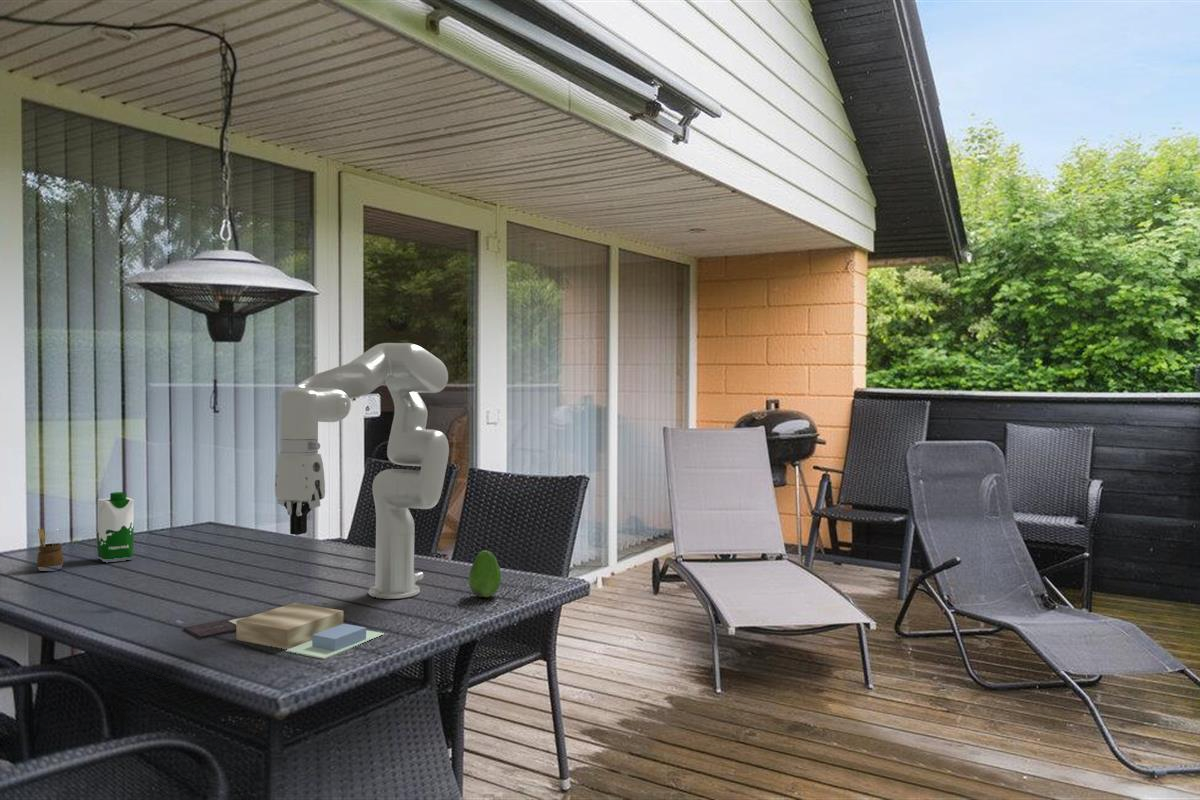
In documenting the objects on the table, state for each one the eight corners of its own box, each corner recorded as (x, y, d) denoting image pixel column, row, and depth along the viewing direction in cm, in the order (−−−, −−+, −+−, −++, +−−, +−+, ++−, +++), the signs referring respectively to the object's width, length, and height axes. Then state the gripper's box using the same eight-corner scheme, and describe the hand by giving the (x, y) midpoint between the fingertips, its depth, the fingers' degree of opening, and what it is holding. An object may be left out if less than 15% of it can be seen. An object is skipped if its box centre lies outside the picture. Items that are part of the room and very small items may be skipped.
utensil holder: (68, 568, 232) (68, 525, 232) (48, 573, 226) (48, 529, 226) (51, 567, 234) (51, 524, 234) (30, 571, 228) (31, 528, 228)
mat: (348, 628, 181) (348, 626, 181) (385, 634, 177) (385, 633, 177) (285, 651, 165) (285, 650, 165) (324, 659, 161) (324, 657, 161)
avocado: (487, 602, 205) (487, 554, 205) (462, 598, 209) (463, 550, 209) (507, 596, 212) (507, 549, 212) (482, 591, 216) (483, 545, 216)
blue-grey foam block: (366, 627, 173) (366, 639, 173) (343, 623, 176) (343, 634, 176) (335, 639, 165) (334, 651, 165) (312, 634, 167) (312, 646, 168)
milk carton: (103, 564, 238) (103, 495, 238) (93, 559, 244) (94, 491, 244) (136, 560, 244) (137, 492, 244) (126, 555, 251) (127, 489, 250)
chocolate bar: (183, 627, 178) (265, 611, 191) (183, 631, 178) (265, 616, 191) (200, 636, 172) (284, 619, 185) (200, 641, 172) (283, 624, 185)
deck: (294, 620, 187) (294, 602, 186) (343, 629, 181) (343, 610, 181) (236, 639, 172) (236, 620, 172) (287, 649, 166) (287, 629, 166)
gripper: (339, 447, 177) (338, 533, 177) (285, 444, 183) (284, 527, 183) (313, 450, 170) (313, 540, 170) (258, 446, 176) (258, 533, 176)
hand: (298, 533), depth 177 cm, fingers closed
